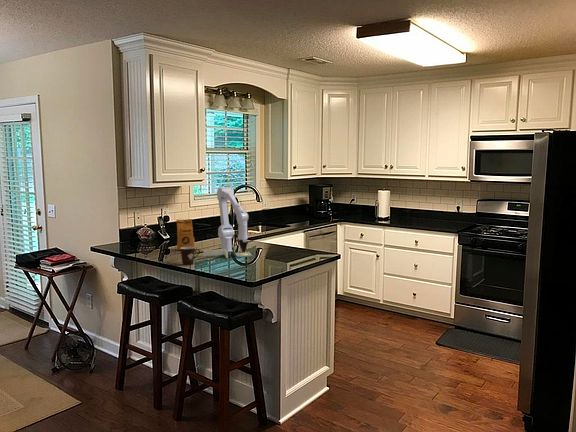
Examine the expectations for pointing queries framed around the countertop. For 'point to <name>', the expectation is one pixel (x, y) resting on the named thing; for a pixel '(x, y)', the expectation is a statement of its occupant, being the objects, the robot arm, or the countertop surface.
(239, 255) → the tray
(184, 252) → the coffee mug
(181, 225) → the coffee package
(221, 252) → the acrylic walls
